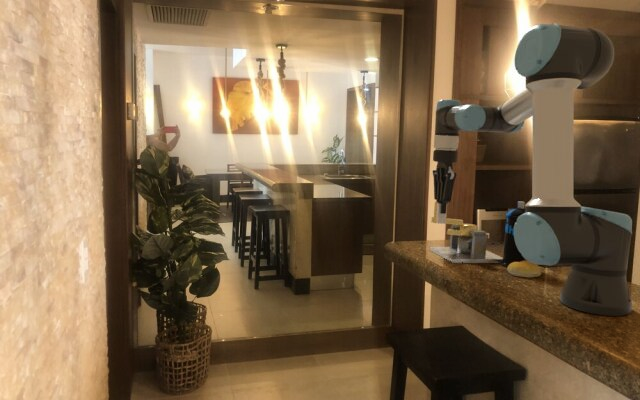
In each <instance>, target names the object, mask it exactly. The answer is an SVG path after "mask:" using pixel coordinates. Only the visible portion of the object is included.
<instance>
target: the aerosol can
mask: <svg viewBox="0 0 640 400" xmlns="http://www.w3.org/2000/svg"><path fill="white" fill-rule="evenodd" d="M525 205H526V203H525V201H517V205H516V206H517V208H514V209H511V210H509V211H508V212H507V213H506V214H505V216H506V218H505V219H506V220H505V228H504V229H505V232H504V239H503V240H504V242H503V253H502V258H503V262H502V263H501V266H503V267H505V268H508V266H509V264H511V263H513V262H521V261H524V260H526V259H525V258H524V257H523V256H522V254H521V253H520V252H519V250H518V248H517V246H516V243H515V239H514V225H515V223H516V222H517V218H518V217H519V216H520V215H522V214H524V213H525Z"/></svg>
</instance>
